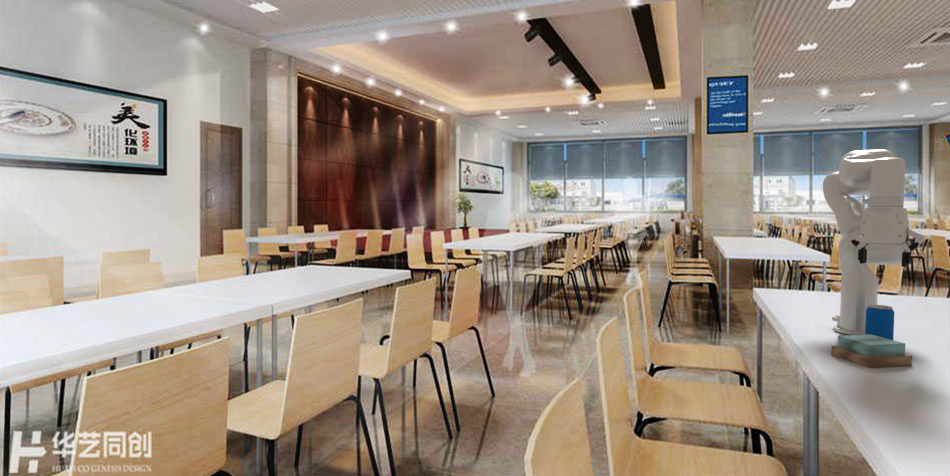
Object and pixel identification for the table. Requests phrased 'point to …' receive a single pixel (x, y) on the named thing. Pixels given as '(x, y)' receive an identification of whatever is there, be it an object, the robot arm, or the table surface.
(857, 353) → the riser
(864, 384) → the table surface
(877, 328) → the beverage can
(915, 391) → the table surface
